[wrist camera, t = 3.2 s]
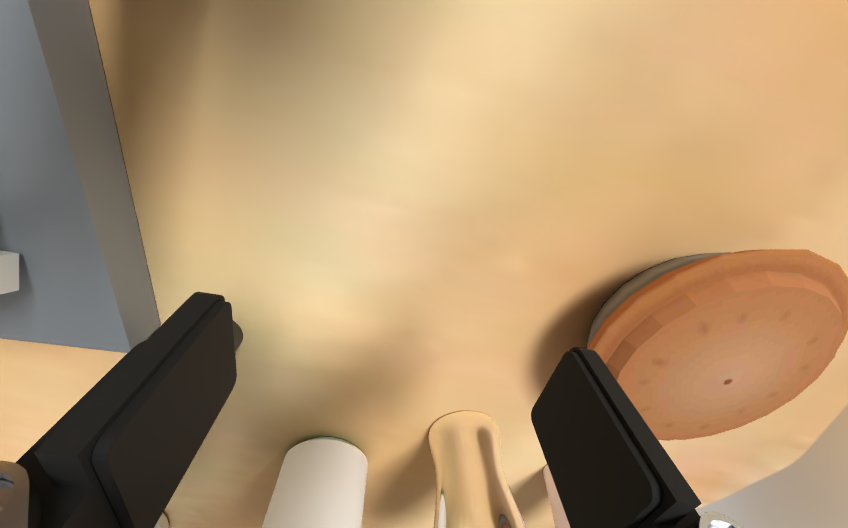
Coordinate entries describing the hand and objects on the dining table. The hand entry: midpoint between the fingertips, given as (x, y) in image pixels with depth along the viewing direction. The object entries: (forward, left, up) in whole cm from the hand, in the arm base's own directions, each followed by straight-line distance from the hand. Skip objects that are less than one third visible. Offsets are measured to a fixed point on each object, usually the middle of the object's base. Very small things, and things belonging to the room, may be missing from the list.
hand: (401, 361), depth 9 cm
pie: (-4, -19, -11) cm, 23 cm away
